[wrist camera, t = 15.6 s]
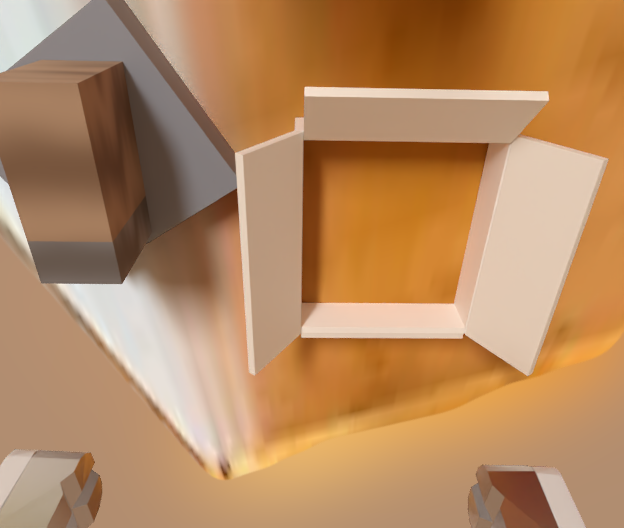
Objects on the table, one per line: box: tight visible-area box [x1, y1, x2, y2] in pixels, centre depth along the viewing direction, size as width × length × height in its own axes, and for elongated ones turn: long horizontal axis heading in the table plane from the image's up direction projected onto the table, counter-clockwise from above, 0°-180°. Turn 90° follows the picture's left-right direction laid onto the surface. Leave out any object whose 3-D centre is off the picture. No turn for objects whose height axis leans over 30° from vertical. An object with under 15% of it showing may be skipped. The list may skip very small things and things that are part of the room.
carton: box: [235, 87, 609, 376], centre depth 35 cm, size 21×22×9 cm
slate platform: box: [0, 0, 237, 244], centre depth 34 cm, size 14×14×3 cm
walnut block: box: [0, 60, 152, 284], centre depth 30 cm, size 12×5×7 cm, turn 179°
